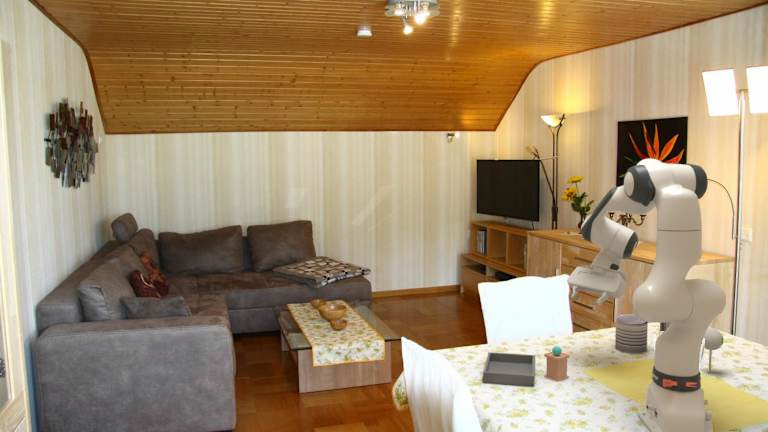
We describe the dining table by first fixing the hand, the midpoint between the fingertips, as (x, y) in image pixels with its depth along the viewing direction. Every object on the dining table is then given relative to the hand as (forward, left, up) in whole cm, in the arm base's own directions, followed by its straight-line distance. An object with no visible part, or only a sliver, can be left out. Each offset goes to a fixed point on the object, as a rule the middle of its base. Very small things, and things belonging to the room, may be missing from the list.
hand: (585, 301), depth 214 cm
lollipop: (+3, -40, -23) cm, 46 cm away
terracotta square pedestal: (-11, +9, -23) cm, 27 cm away
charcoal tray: (-11, +24, -23) cm, 35 cm away
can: (+23, -18, -23) cm, 37 cm away
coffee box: (+13, -30, -23) cm, 40 cm away
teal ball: (-11, +9, -14) cm, 20 cm away
